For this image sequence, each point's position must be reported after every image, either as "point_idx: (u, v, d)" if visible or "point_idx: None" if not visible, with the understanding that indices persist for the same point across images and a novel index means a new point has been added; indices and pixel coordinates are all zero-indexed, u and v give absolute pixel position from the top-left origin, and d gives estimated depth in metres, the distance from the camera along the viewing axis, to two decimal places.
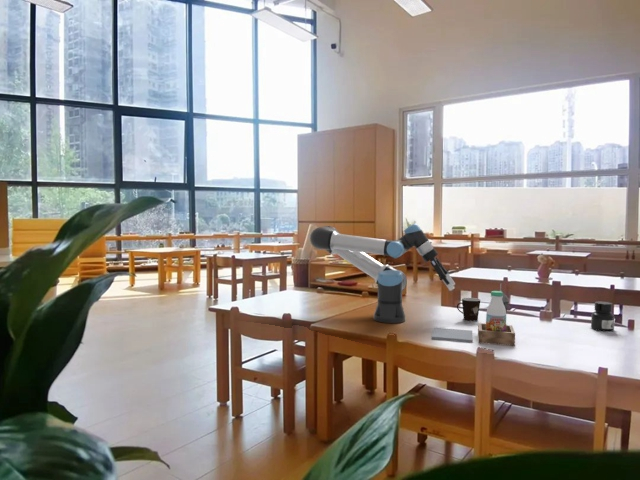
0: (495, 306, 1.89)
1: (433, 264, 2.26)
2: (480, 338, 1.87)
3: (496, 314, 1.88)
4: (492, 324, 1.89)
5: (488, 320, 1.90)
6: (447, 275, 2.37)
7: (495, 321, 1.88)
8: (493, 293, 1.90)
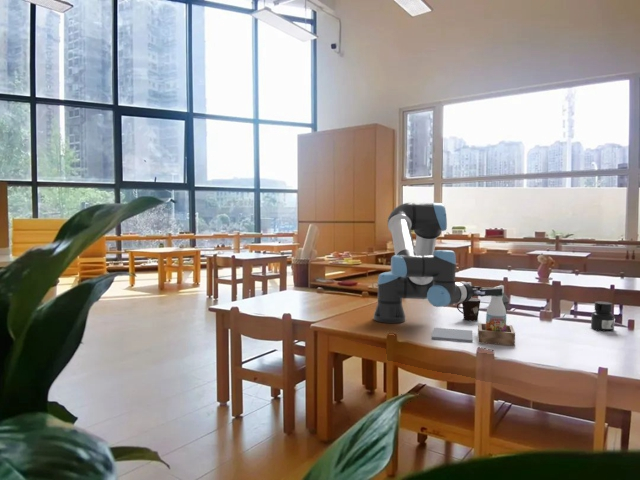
0: (495, 306, 1.89)
1: None
2: (480, 338, 1.87)
3: (497, 314, 1.88)
4: (492, 324, 1.89)
5: (488, 320, 1.90)
6: None
7: (495, 321, 1.88)
8: None
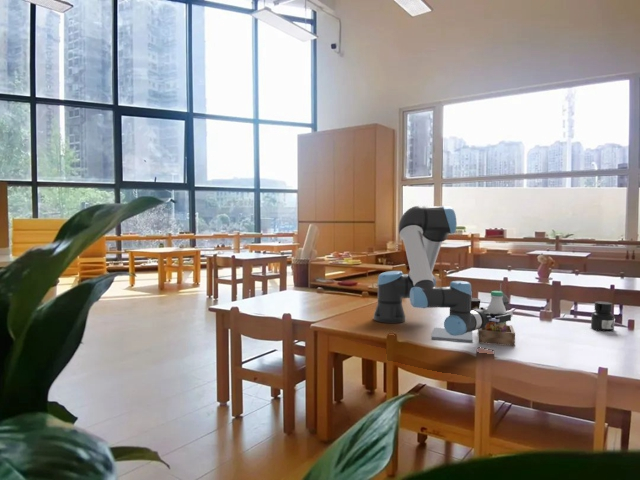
0: (495, 306, 1.89)
1: None
2: (480, 338, 1.87)
3: None
4: (492, 324, 1.89)
5: None
6: None
7: None
8: (493, 293, 1.90)
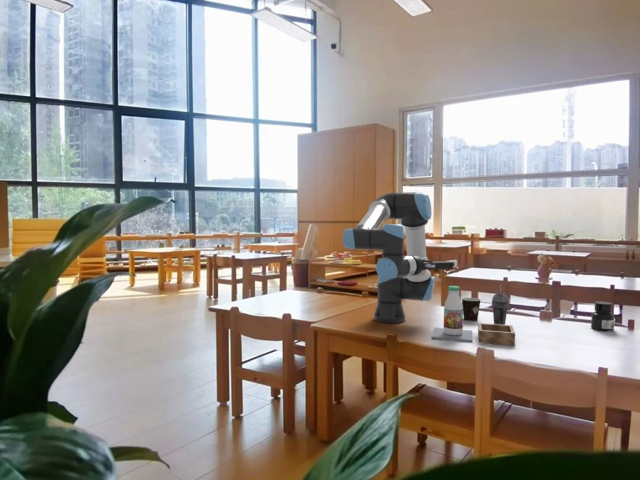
0: (452, 300, 1.95)
1: None
2: (480, 338, 1.87)
3: (453, 308, 1.94)
4: (448, 318, 1.95)
5: (445, 314, 1.96)
6: None
7: (452, 315, 1.94)
8: (450, 288, 1.96)
